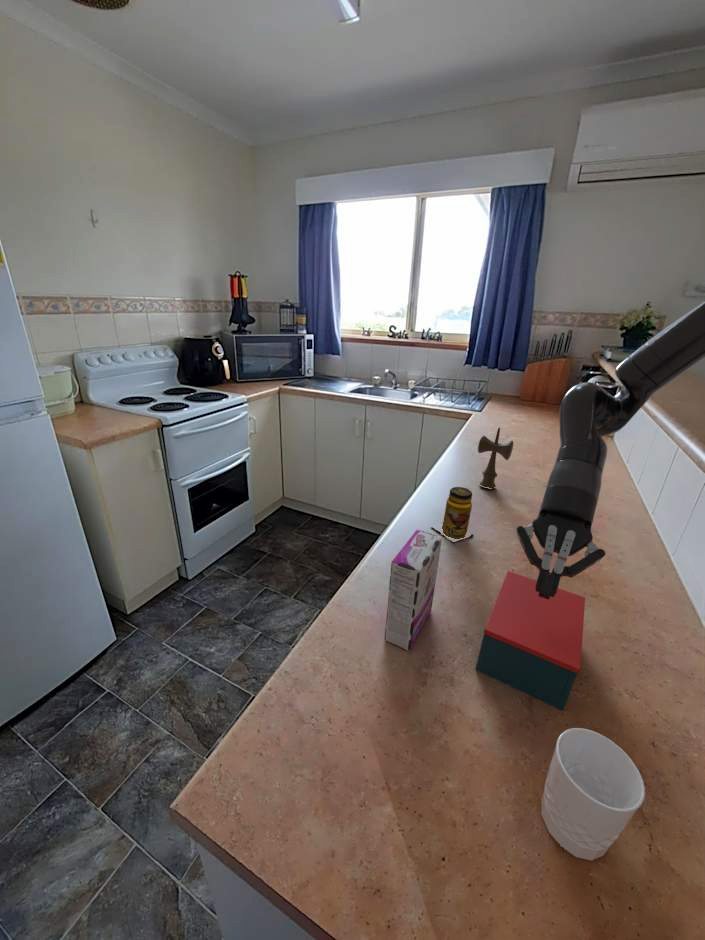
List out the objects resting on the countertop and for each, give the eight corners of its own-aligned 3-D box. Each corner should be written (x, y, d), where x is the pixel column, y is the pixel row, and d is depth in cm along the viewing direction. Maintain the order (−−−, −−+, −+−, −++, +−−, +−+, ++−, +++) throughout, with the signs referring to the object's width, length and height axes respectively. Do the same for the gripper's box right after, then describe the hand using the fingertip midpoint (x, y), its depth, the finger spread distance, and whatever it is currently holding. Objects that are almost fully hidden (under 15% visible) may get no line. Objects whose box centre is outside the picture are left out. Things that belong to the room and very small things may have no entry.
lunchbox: (563, 711, 57) (578, 671, 54) (475, 669, 62) (484, 631, 59) (571, 636, 70) (583, 601, 67) (498, 607, 76) (506, 574, 73)
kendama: (500, 494, 122) (514, 432, 115) (469, 486, 127) (480, 426, 119) (504, 488, 127) (518, 428, 119) (474, 480, 132) (485, 422, 124)
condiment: (453, 543, 95) (461, 499, 91) (429, 527, 102) (436, 485, 97) (474, 536, 99) (483, 493, 94) (450, 520, 106) (457, 480, 101)
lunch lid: (578, 674, 53) (580, 669, 53) (483, 633, 59) (484, 629, 58) (583, 601, 67) (585, 597, 67) (506, 574, 73) (507, 570, 72)
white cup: (571, 880, 40) (600, 822, 36) (519, 793, 47) (540, 737, 43) (631, 854, 42) (665, 797, 38) (573, 775, 49) (597, 720, 45)
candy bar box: (406, 601, 76) (416, 527, 69) (431, 612, 74) (444, 536, 67) (381, 640, 67) (390, 559, 60) (409, 653, 65) (421, 571, 58)
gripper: (528, 474, 64) (497, 576, 59) (624, 496, 58) (599, 611, 53) (526, 492, 70) (498, 585, 65) (613, 513, 64) (589, 618, 59)
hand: (543, 597), depth 59 cm, fingers closed
